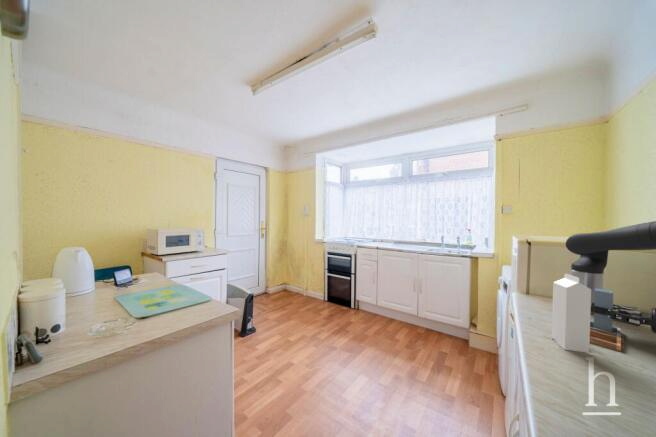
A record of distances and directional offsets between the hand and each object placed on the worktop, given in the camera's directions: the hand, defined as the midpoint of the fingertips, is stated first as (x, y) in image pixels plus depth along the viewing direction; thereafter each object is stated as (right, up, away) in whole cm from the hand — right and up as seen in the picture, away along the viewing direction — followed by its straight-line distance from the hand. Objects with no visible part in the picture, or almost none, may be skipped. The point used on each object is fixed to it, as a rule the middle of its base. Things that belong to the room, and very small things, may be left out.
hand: (591, 307), depth 82 cm
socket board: (-2, -9, -5) cm, 10 cm away
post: (+2, -8, -2) cm, 8 cm away
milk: (-17, -9, -9) cm, 22 cm away
